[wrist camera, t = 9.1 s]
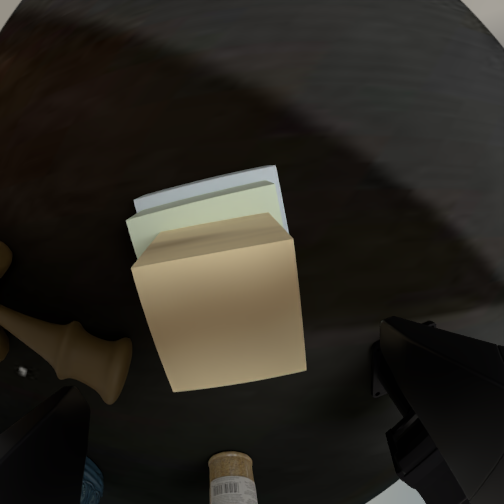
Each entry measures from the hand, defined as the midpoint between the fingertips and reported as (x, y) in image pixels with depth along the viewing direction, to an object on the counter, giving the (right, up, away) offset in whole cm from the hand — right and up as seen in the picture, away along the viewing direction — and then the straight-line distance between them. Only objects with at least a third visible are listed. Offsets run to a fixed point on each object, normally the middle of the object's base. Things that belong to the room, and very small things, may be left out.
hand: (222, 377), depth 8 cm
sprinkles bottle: (-1, -18, +19) cm, 26 cm away
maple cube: (-1, +2, +7) cm, 7 cm away
